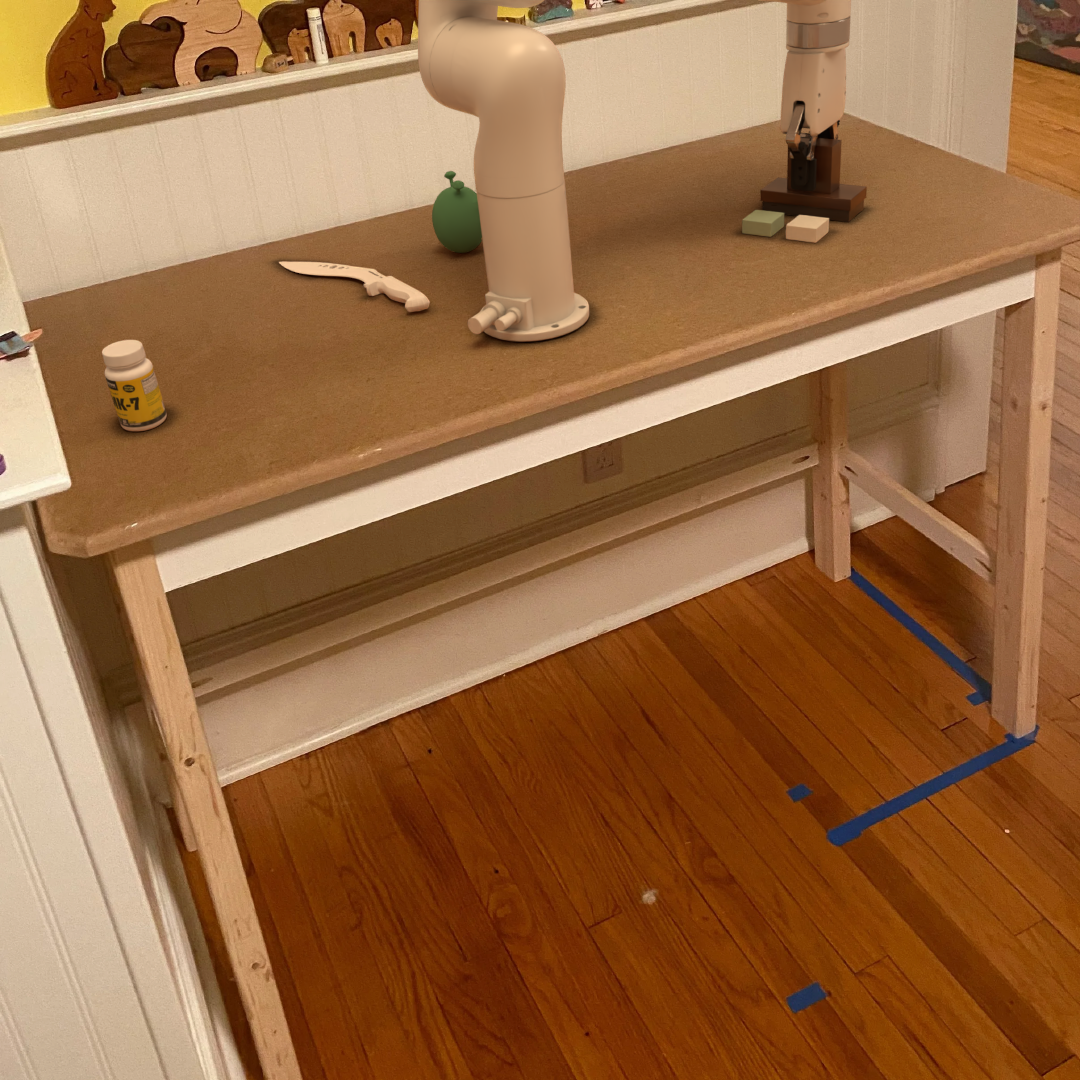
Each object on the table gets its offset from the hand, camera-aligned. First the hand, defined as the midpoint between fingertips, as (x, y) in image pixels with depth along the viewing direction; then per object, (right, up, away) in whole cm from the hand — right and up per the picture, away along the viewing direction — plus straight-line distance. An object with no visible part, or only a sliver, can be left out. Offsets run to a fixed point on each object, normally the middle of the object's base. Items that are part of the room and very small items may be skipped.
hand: (813, 180), depth 157 cm
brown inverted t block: (0, -3, +2) cm, 4 cm away
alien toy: (-45, -9, +2) cm, 46 cm away
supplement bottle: (-76, -34, -31) cm, 89 cm away
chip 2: (-2, -8, -5) cm, 10 cm away
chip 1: (-7, -7, -2) cm, 10 cm away
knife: (-59, -15, -4) cm, 61 cm away
